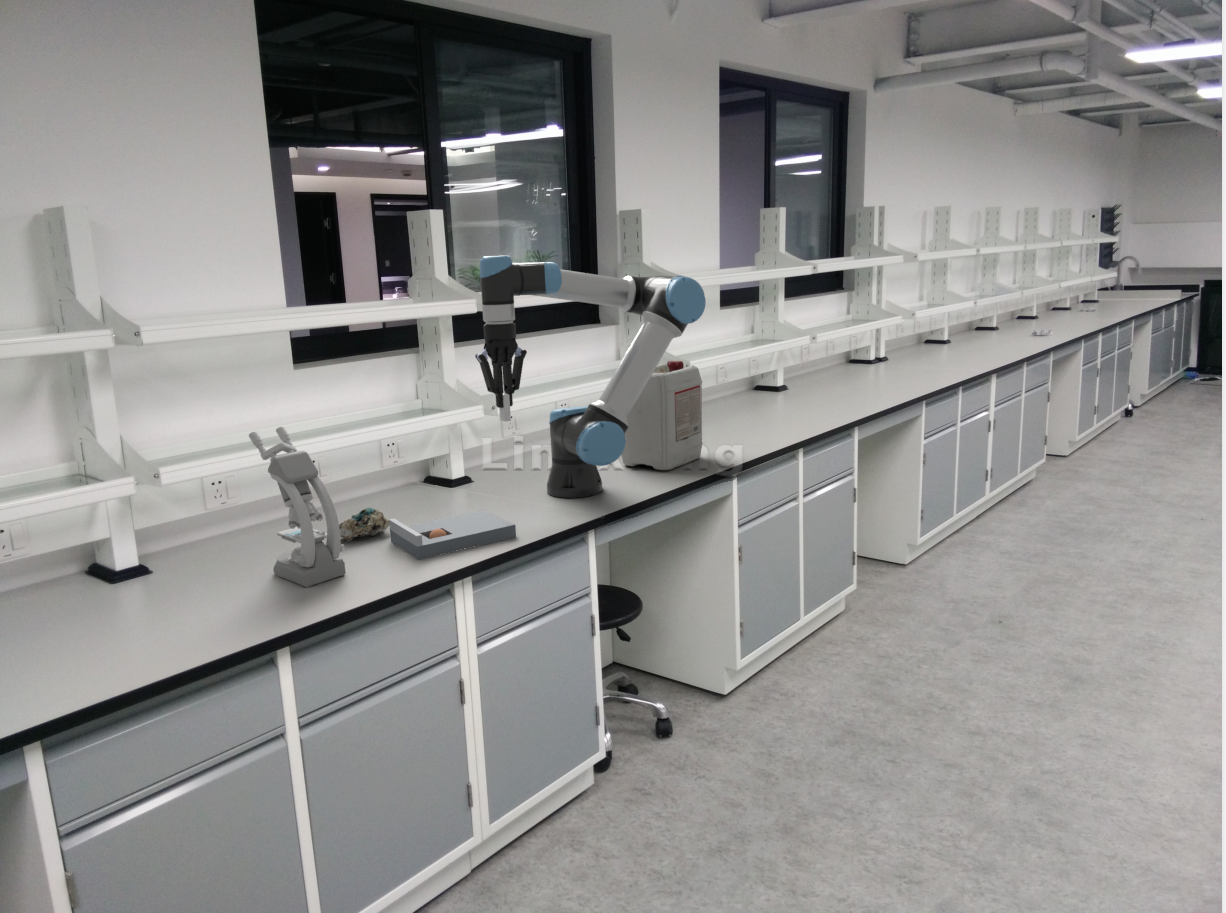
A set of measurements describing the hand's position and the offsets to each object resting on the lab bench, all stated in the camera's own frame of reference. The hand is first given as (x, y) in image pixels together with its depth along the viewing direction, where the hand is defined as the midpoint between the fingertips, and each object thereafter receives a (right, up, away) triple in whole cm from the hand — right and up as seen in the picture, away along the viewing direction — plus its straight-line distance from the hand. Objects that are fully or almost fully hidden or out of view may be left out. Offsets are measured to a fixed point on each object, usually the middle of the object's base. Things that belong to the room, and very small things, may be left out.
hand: (505, 420), depth 218 cm
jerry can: (+41, -11, +56) cm, 71 cm away
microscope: (-39, -33, -29) cm, 59 cm away
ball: (-13, -27, -15) cm, 34 cm away
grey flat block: (-11, -28, -11) cm, 32 cm away
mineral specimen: (-33, -28, -6) cm, 44 cm away
